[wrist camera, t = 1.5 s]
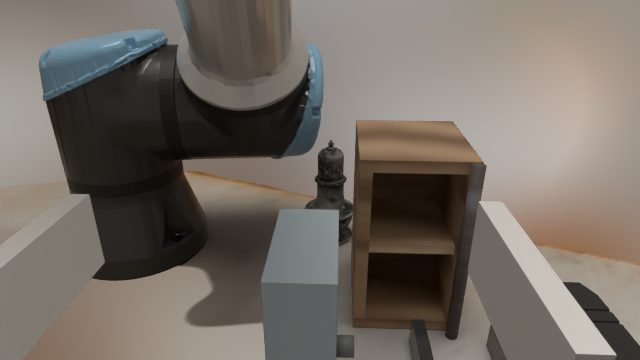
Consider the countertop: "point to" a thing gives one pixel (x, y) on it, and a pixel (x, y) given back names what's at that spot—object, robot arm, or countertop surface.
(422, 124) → the cabinet
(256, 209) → the countertop surface
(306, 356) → the door
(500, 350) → the hinge bracket
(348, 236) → the salt shaker
